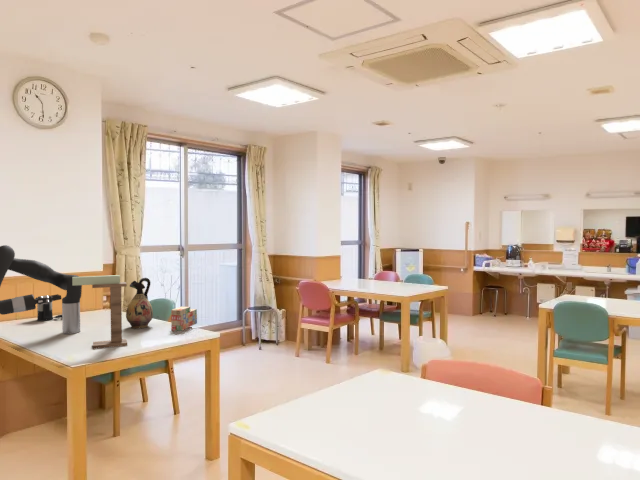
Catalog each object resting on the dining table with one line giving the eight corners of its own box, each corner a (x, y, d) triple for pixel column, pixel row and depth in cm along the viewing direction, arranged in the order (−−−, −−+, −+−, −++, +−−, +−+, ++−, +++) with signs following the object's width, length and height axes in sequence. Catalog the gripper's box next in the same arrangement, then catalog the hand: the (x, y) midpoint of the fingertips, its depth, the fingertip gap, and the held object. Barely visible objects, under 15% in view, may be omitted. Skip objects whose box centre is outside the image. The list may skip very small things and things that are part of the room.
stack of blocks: (188, 323, 314) (187, 303, 313) (197, 323, 313) (197, 304, 312) (171, 330, 293) (171, 309, 292) (181, 330, 292) (180, 310, 291)
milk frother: (34, 320, 323) (33, 297, 323) (58, 316, 336) (58, 294, 336) (45, 322, 315) (44, 299, 315) (69, 318, 328) (69, 296, 327)
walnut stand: (93, 344, 258) (92, 283, 257) (126, 341, 264) (125, 281, 263) (93, 348, 249) (92, 285, 248) (127, 345, 256) (126, 283, 255)
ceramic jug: (131, 330, 291) (131, 279, 290) (122, 326, 303) (121, 277, 302) (159, 326, 302) (159, 277, 301) (149, 323, 314) (149, 275, 313)
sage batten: (72, 284, 250) (72, 276, 250) (119, 282, 259) (119, 275, 259) (72, 285, 247) (72, 277, 247) (120, 283, 257) (119, 275, 256)
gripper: (23, 296, 237) (60, 289, 246) (21, 295, 249) (57, 288, 258) (25, 312, 237) (63, 304, 247) (23, 310, 249) (59, 303, 258)
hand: (60, 296), depth 252 cm, fingers open, 8 cm apart
